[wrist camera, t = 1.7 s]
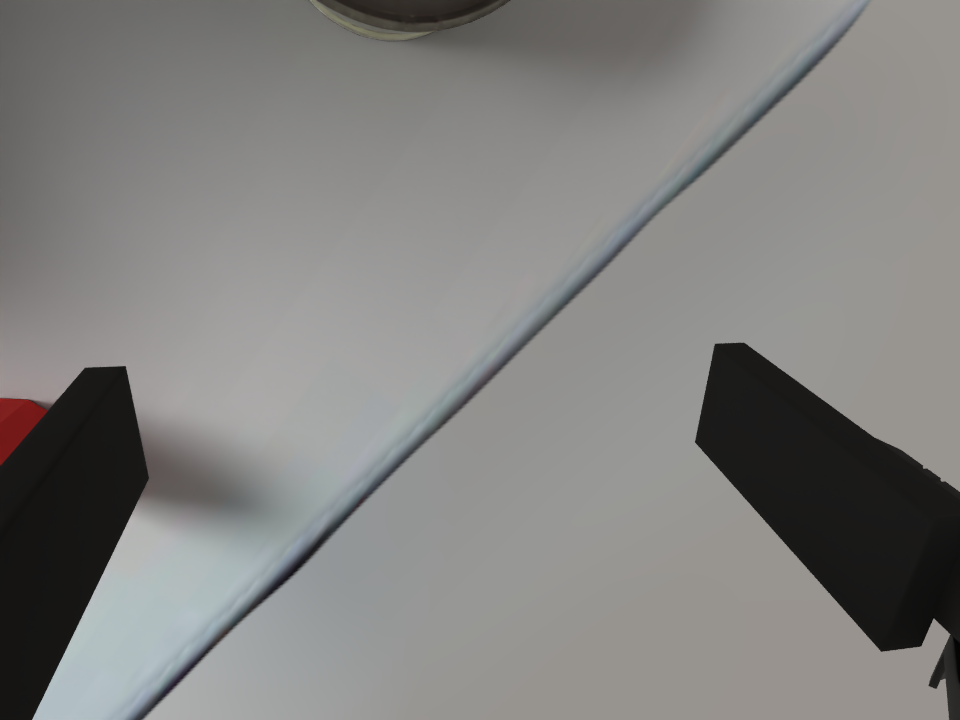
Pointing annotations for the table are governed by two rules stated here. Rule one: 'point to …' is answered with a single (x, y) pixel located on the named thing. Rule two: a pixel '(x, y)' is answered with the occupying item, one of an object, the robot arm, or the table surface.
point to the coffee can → (404, 15)
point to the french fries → (16, 423)
